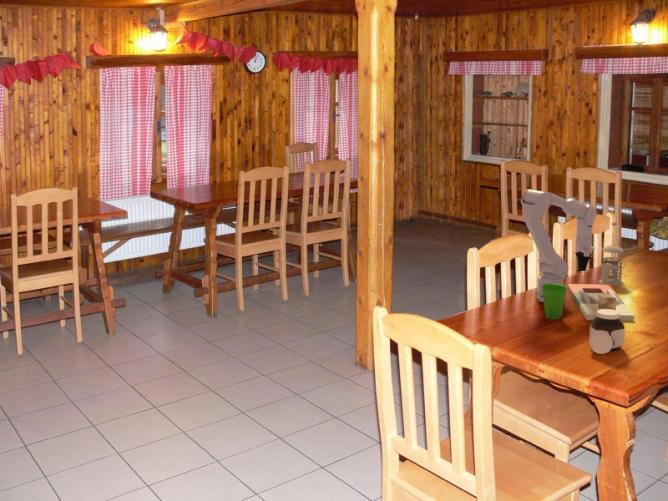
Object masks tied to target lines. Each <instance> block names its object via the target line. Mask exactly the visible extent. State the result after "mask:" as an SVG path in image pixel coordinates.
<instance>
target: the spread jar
mask: <svg viewBox="0 0 668 501" xmlns="http://www.w3.org/2000/svg"><path fill="white" fill-rule="evenodd" d="M619 317H620V312H618V311H616V310H611V309H600V310H597V317H595V318H594V319H593V320H591V321H590V325H589V326H590V327H589V342H588V344H589V346H590V347H589V348H590V349H591V350H592V351H593V352H594V353H596V354H598V355H605V354H607V353H609V352H615V351H617V350H619V349H621V347H622V346H623V345H624V342H625V333H626V328H625V324H624V321H621V320H620V319H619Z"/></svg>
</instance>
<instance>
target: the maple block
mask: <svg viewBox="0 0 668 501" xmlns="http://www.w3.org/2000/svg"><path fill="white" fill-rule="evenodd" d="M616 299H617V298H616V296H615V295H614V294H599V302H598V308H599V309H611V310H616Z"/></svg>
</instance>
